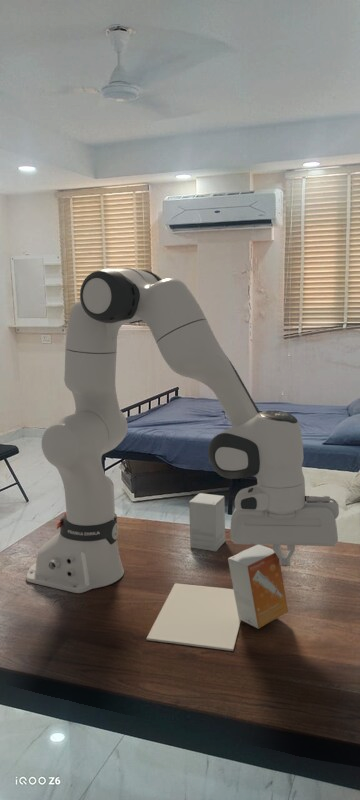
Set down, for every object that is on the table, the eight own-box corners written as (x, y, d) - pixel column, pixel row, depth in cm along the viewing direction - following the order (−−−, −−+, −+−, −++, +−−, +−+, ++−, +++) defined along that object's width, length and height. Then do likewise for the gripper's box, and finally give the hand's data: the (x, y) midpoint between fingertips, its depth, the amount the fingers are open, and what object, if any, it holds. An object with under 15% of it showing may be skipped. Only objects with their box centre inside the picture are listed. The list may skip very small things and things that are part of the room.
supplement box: (226, 541, 155) (225, 495, 153) (215, 552, 148) (215, 504, 146) (200, 537, 158) (199, 492, 156) (189, 547, 151) (188, 501, 149)
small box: (258, 630, 112) (247, 566, 110) (238, 619, 117) (226, 557, 115) (289, 612, 116) (278, 550, 114) (268, 602, 121) (257, 543, 119)
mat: (146, 640, 111) (146, 638, 111) (175, 584, 132) (175, 583, 132) (233, 651, 107) (233, 649, 107) (248, 592, 128) (248, 590, 128)
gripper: (337, 491, 112) (340, 559, 114) (231, 490, 117) (235, 556, 119) (338, 501, 106) (341, 574, 108) (226, 501, 111) (230, 570, 113)
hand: (284, 565), depth 113 cm, fingers closed
